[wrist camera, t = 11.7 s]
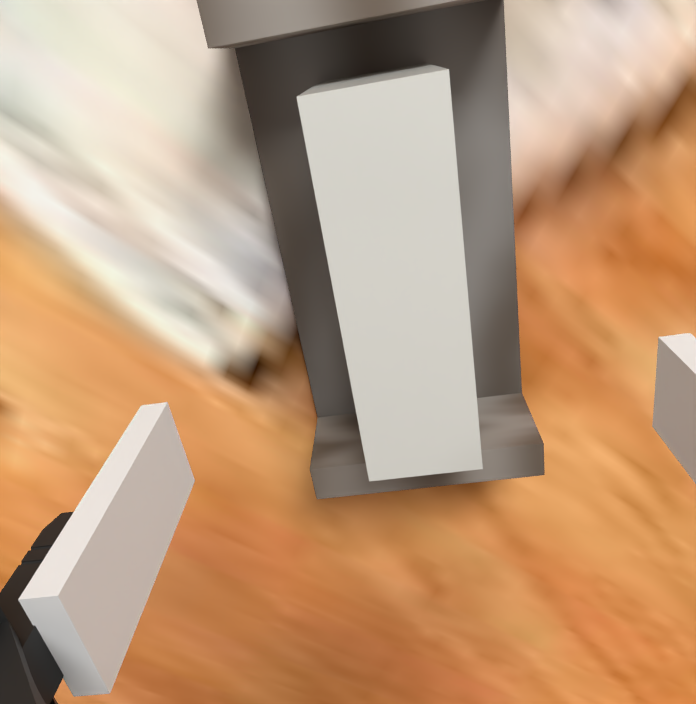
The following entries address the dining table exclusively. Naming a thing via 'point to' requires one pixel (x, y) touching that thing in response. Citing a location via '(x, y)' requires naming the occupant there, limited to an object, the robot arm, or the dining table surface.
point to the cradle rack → (474, 188)
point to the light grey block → (397, 264)
